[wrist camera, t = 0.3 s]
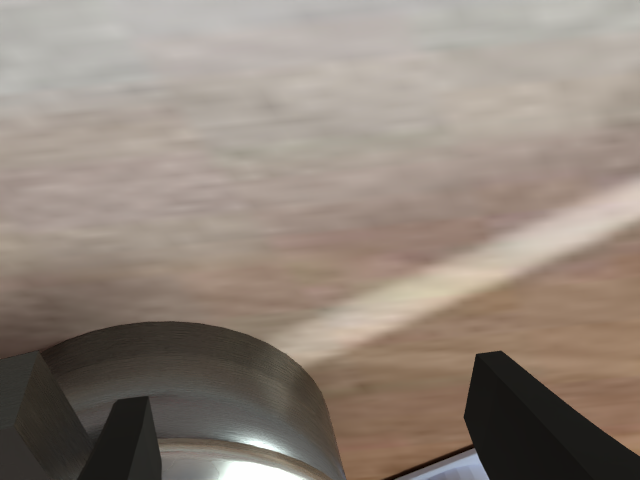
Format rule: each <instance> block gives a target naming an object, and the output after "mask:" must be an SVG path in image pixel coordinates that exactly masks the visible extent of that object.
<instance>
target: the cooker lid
mask: <svg viewBox="0 0 640 480" xmlns="http://www.w3.org/2000/svg"><path fill="white" fill-rule="evenodd" d="M157 440H158V445H159V450H160V455H161V460H162V480H333V479H331V478H330V477H329V476H327V475H326V474H325V473H323V472H322V471H320V470H318V469H316V468H314V467H312V466H310V465H308V464H307V463H305V462H303V461H301V460H298V459H295V458H293V457H290V456H287V455H285V454H282V453H279V452H277V451H273V450H269V449H265V448H261V447H257V446H253V445H249V444H242V443H235V442H228V441H221V440H212V439H191V438H169V439H157ZM94 446H95V445H94V444H93V442H92V440H91V439H90V437H89V435H88V433H87V432H86V430H85V428H84V427H83V425H82V423H81V422H80V420H79V418H78V416H77V415H76V413H75V411H74V410H73V408H72V406H71V405H70V403H69V401H68V400H67V398H66V396H65V394H64V393H63V391H62V389H61V388H60V386H59V384H58V383H57V381H56V379H55V377H54V376H53V374H52V372H51V371H50V369H49V367H48V366H47V364H46V362H45V361H44V359H43V357H42V355H41V354H40V352H39V350H38V351H34V352H30V353H26V354H22V355H18V356H13V357H9V358H5V359H1V360H0V480H77V478H78V476H79V475H80V473H81V471H82V469H83V467H84V465H85V464H86V462H87V460H88V458H89V456H90V454H91V452H92V450H93V448H94Z"/></svg>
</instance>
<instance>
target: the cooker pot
mask: <svg viewBox="0 0 640 480" xmlns="http://www.w3.org/2000/svg"><path fill="white" fill-rule="evenodd" d="M41 355H42V357H43V359H44V361H45V362H46V364H47V366H48V367H49V369H50V371H51V372H52V374H53V376H54V377H55V379H56V381H57V383H58V384H59V386H60V388H61V389H62V391H63V393H64V394H65V396H66V398H67V400H68V401H69V403H70V405H71V406H72V408H73V410H74V411H75V413H76V415H77V416H78V418H79V420H80V422H81V423H82V425H83V427H84V428H85V430H86V432H87V433H88V435H89V437H90V439H91V440H92V442H93V444H94V445H95V444H96V442H97V440H98V438H99V436H100V434H101V431H102V429H103V427H104V425H105V423H106V420H107V418H108V416H109V413H110V411H111V408H112V406H113V404H114V403H115V402H116V401H117V400H118V399H125V398H133V397H141V396H149V400H150V405H151V410H152V415H153V420H154V425H155V430H156V435H157V439H169V438H191V439H212V440H221V441H228V442H235V443H242V444H249V445H253V446H257V447H261V448H265V449H269V450H273V451H277V452H279V453H282V454H285V455H287V456H290V457H293V458H295V459H298V460H301V461H303V462H305V463H307V464H308V465H310V466H312V467H314V468H316V469H318V470H320V471H322V472H323V473H325V474H326V475H327V476H329V477H330V478H331V479H333V480H346V477H345V473H344V469H343V465H342V461H341V458H340V454H339V450H338V446H337V442H336V439H335V435H334V431H333V427H332V423H331V419H330V416H329V412H328V408H327V405H326V403H325V400H324V398H323V395H322V393H321V391H320V390H319V388H318V387H317V385H316V383H315V382H314V380H313V379H312V378H311V377H310V376H309V374H308V373H307V372H306V371H305V370H304V369H303V368H302V367H301V366H300V365H299V364H298V363H296V362H295V361H294V360H293V359H291V358H290V357H289V356H288V355H286V354H285V353H283V352H281V351H280V350H278V349H276V348H275V347H273V346H271V345H270V344H268V343H266V342H263V341H261V340H259V339H256V338H254V337H251V336H249V335H247V334H243V333H240V332H236V331H233V330H230V329H226V328H222V327H216V326H211V325H205V324H199V323H185V322H145V323H137V324H129V325H121V326H116V327H111V328H107V329H103V330H98V331H94V332H90V333H88V334H85V335H82V336H79V337H76V338H73V339H70V340H67V341H65V342H63V343H61V344H59V345H57V346H54V347H52V348H50V349H48V350H46V351H44V352H42V353H41Z"/></svg>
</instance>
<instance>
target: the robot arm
mask: <svg viewBox="0 0 640 480" xmlns="http://www.w3.org/2000/svg"><path fill="white" fill-rule="evenodd" d="M464 420H465V422H466V425H467V428H468V431H469V434H470V436H471V439H472V442H473V444H474V447H475V448H473V449H471V450H468V451H465V452H463V453H460V454H458V455H455V456H453V457H450V458H448V459H445V460H443V461H440V462H438V463H435V464H432V465H430V466H427V467H425V468H422V469H420V470H417V471H415V472H412V473H410V474H407V475H404V476H402V477H399V478H397V479H394V480H640V456H638V455H637V454H635V453H634V452H632V451H631V450H629V449H628V448H626V447H625V446H624V445H622V444H621V443H619V442H618V441H616V440H615V439H614V438H612V437H611V436H609V435H608V434H606V433H605V432H604V431H602V430H601V429H600V428H598V427H597V426H595V425H594V424H593V423H591V422H590V421H589V420H587V419H586V418H585V417H583V416H582V415H581V414H580V413H578V412H577V411H576V410H574V409H573V408H572V407H570V406H569V405H568V404H567V403H565V402H564V401H563V400H562V399H560V398H559V397H558V396H557V395H555V394H554V393H553V392H552V391H550V390H549V389H548V388H547V387H545V386H544V385H543V384H542V383H541V382H539V381H538V380H537V379H536V378H534V377H533V376H532V375H531V374H529V373H528V372H527V371H526V370H525V369H523V368H522V367H521V366H520V365H519V364H517V363H516V362H515V361H514V360H512V359H511V358H510V357H509V356H507V355H506V354H505V353H504V352H502V351H495V352H487V353H480V354H476V357H475V362H474V367H473V372H472V377H471V383H470V388H469V393H468V398H467V403H466V408H465V413H464ZM77 480H162V460H161V455H160V450H159V445H158V440H157V435H156V430H155V425H154V420H153V415H152V410H151V405H150V400H149V396H141V397H133V398H125V399H118V400H117V401H116V402H115V403H114V404H113V406H112V408H111V411H110V413H109V416H108V418H107V420H106V423H105V425H104V427H103V429H102V431H101V434H100V436H99V438H98V440H97V442H96V444H95V446H94V448H93V450H92V452H91V454H90V456H89V458H88V460H87V462H86V464H85V465H84V467H83V469H82V471H81V473H80V475H79V476H78V478H77Z"/></svg>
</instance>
